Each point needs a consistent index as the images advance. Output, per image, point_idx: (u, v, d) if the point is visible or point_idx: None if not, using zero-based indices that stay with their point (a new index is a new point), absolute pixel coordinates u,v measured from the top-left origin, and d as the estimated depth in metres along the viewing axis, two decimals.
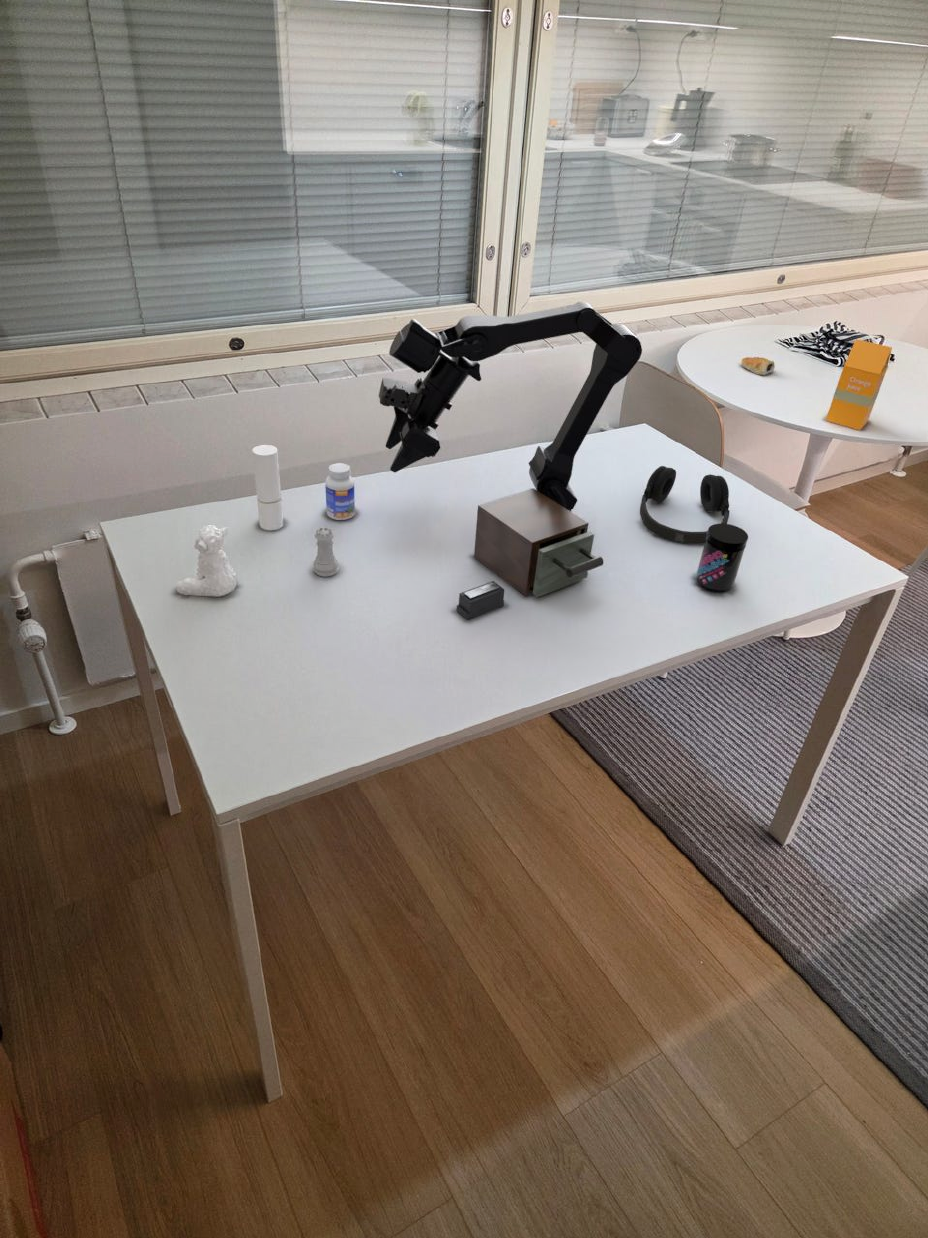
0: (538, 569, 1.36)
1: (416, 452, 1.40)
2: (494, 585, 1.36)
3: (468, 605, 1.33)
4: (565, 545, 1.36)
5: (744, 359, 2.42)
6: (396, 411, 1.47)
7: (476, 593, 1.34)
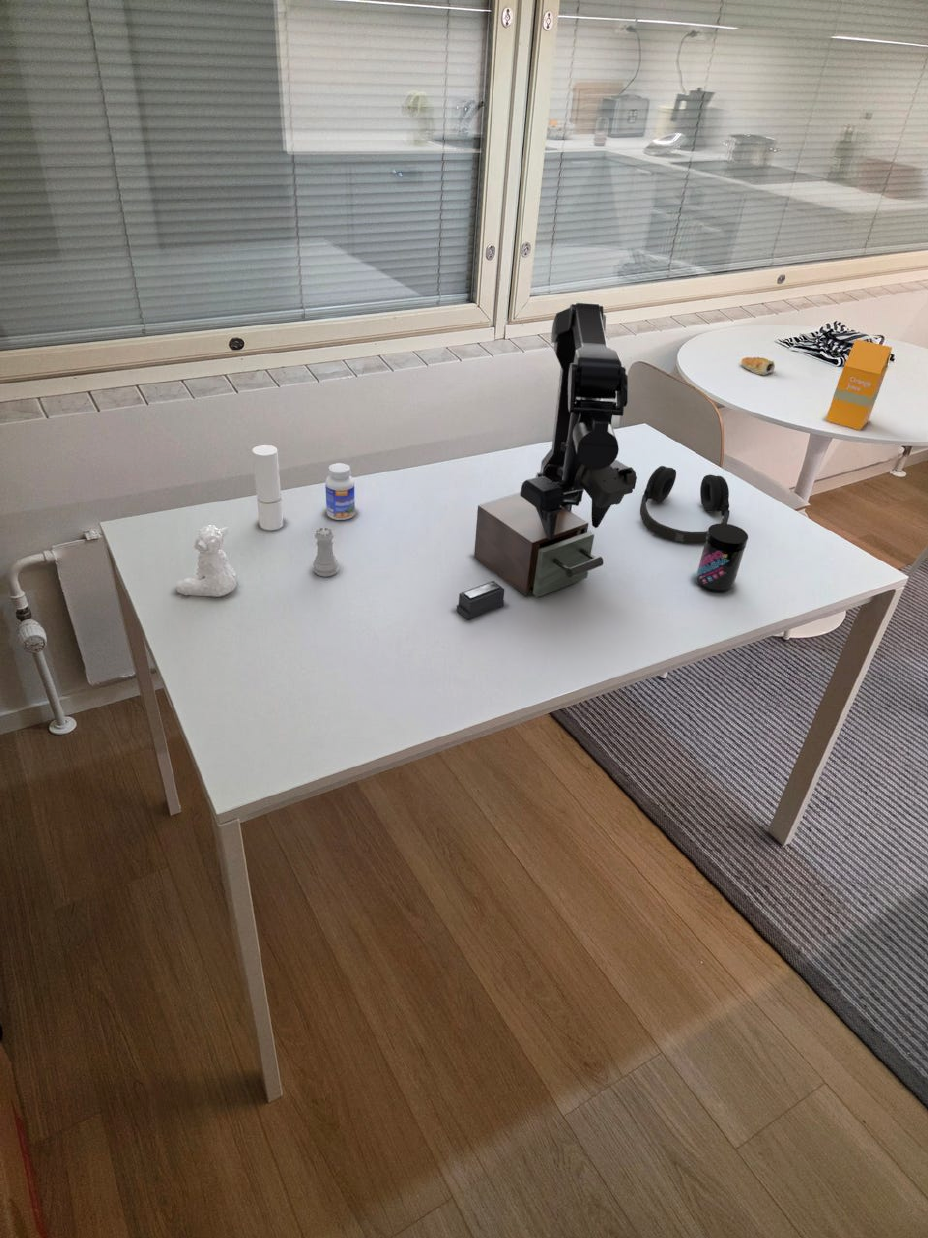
0: (538, 569, 1.36)
1: None
2: (494, 585, 1.36)
3: (468, 605, 1.33)
4: (565, 545, 1.36)
5: (744, 359, 2.42)
6: None
7: (476, 593, 1.34)
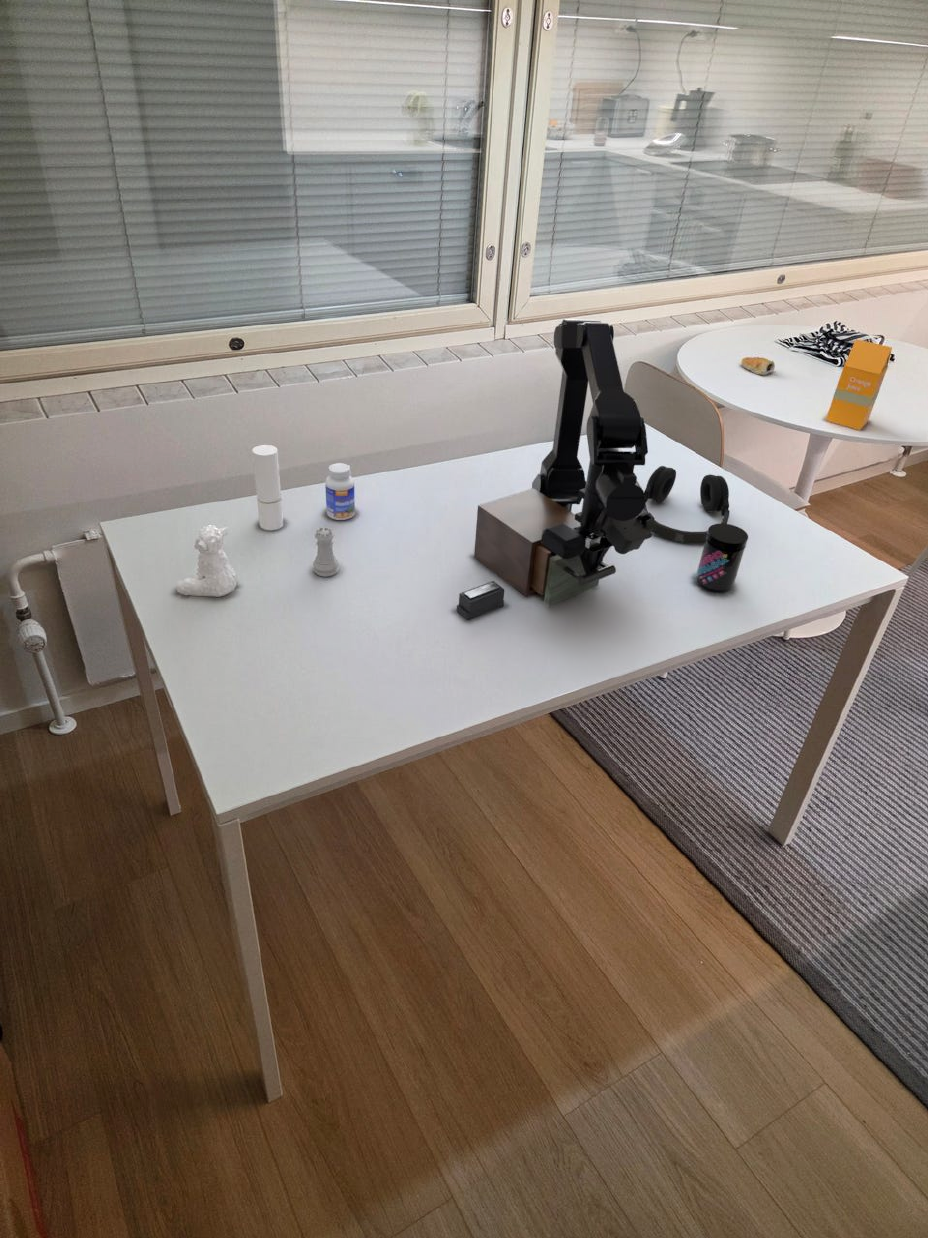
0: (550, 577, 1.35)
1: None
2: (494, 585, 1.36)
3: (468, 605, 1.33)
4: None
5: (744, 359, 2.42)
6: None
7: (476, 593, 1.34)
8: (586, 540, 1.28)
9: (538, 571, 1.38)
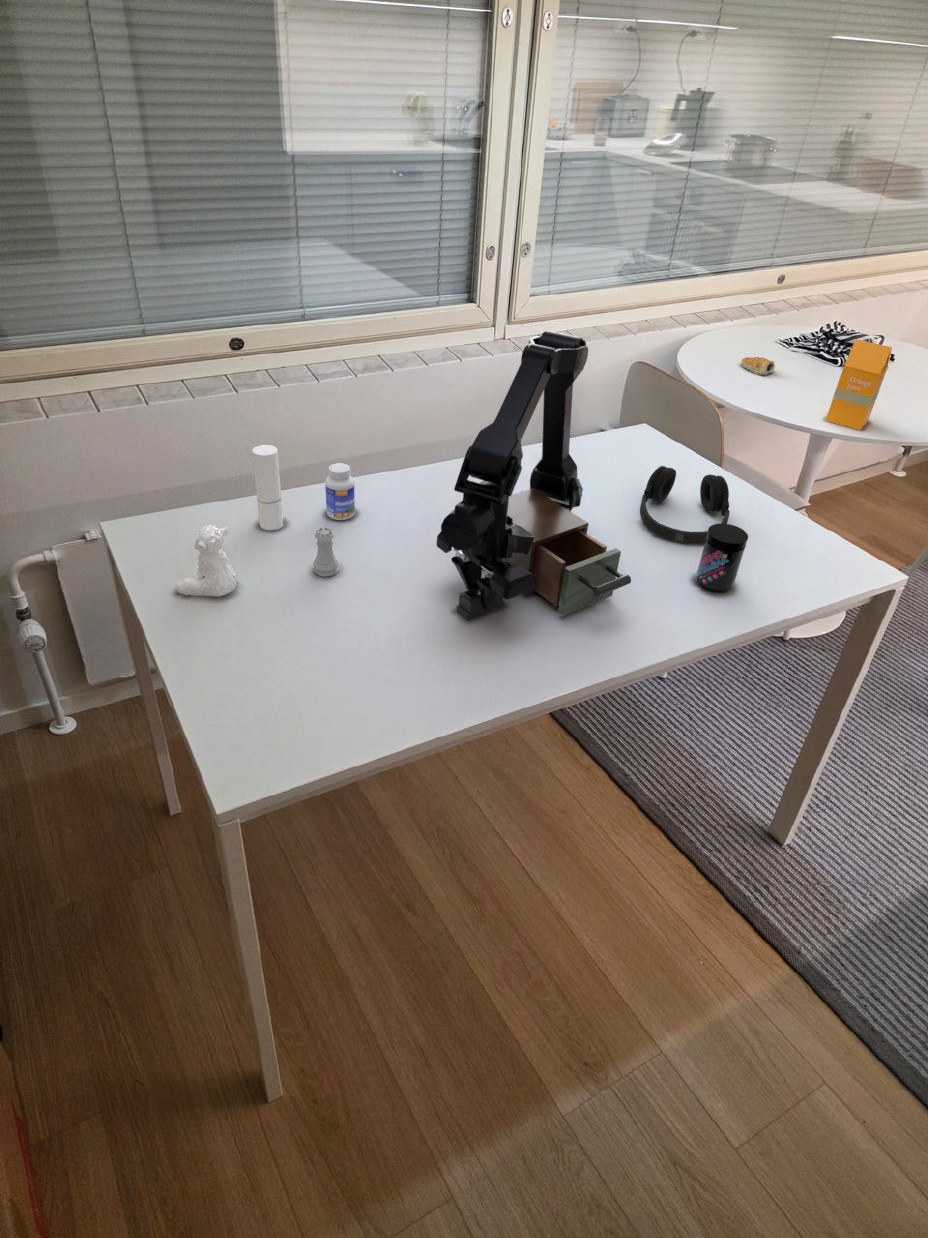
0: (564, 588, 1.32)
1: None
2: None
3: (468, 605, 1.33)
4: (592, 562, 1.32)
5: (744, 359, 2.42)
6: None
7: (476, 593, 1.34)
8: None
9: (552, 581, 1.36)
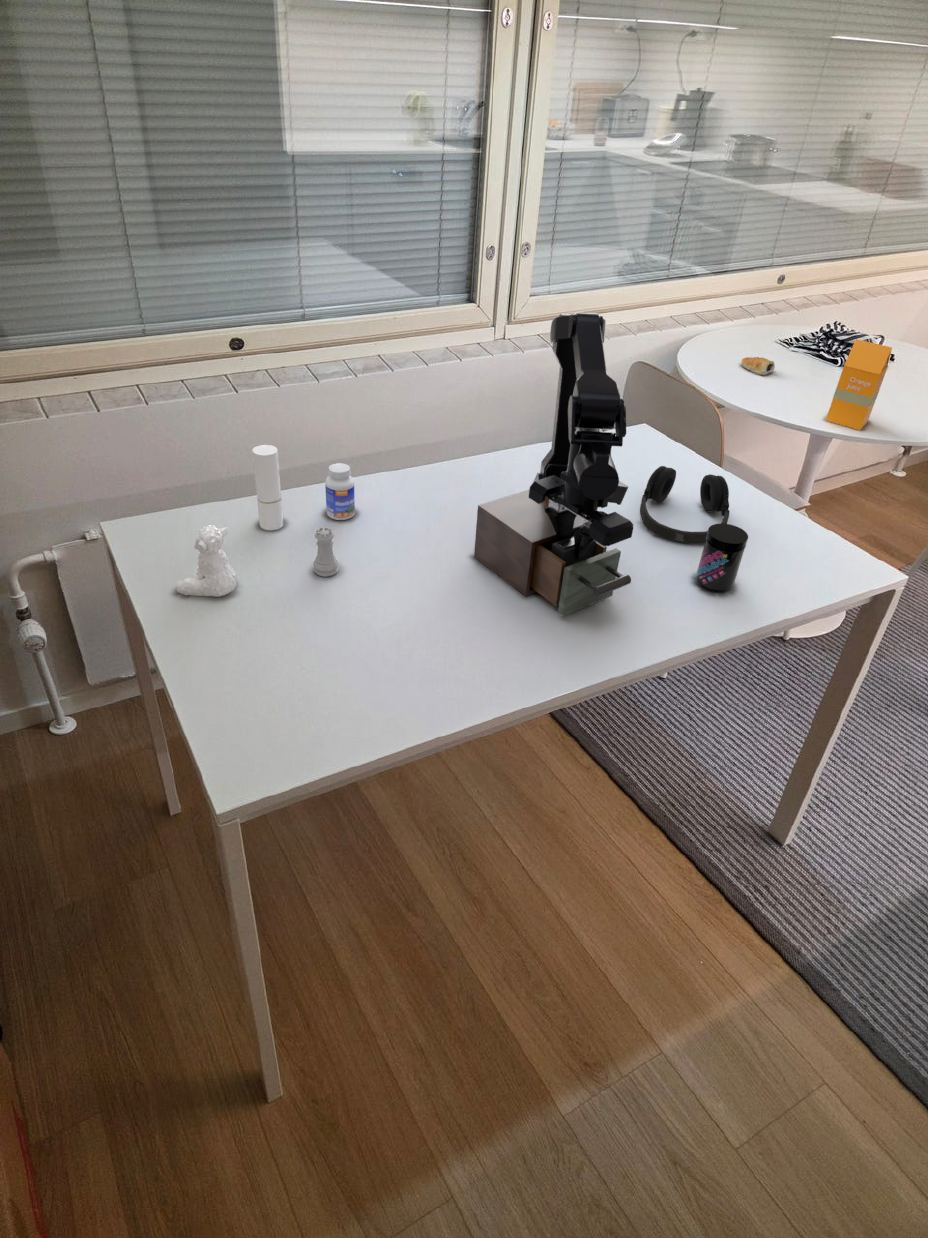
0: (564, 588, 1.32)
1: None
2: None
3: (562, 555, 1.34)
4: (592, 562, 1.32)
5: (744, 359, 2.42)
6: None
7: (569, 543, 1.35)
8: None
9: (552, 581, 1.36)
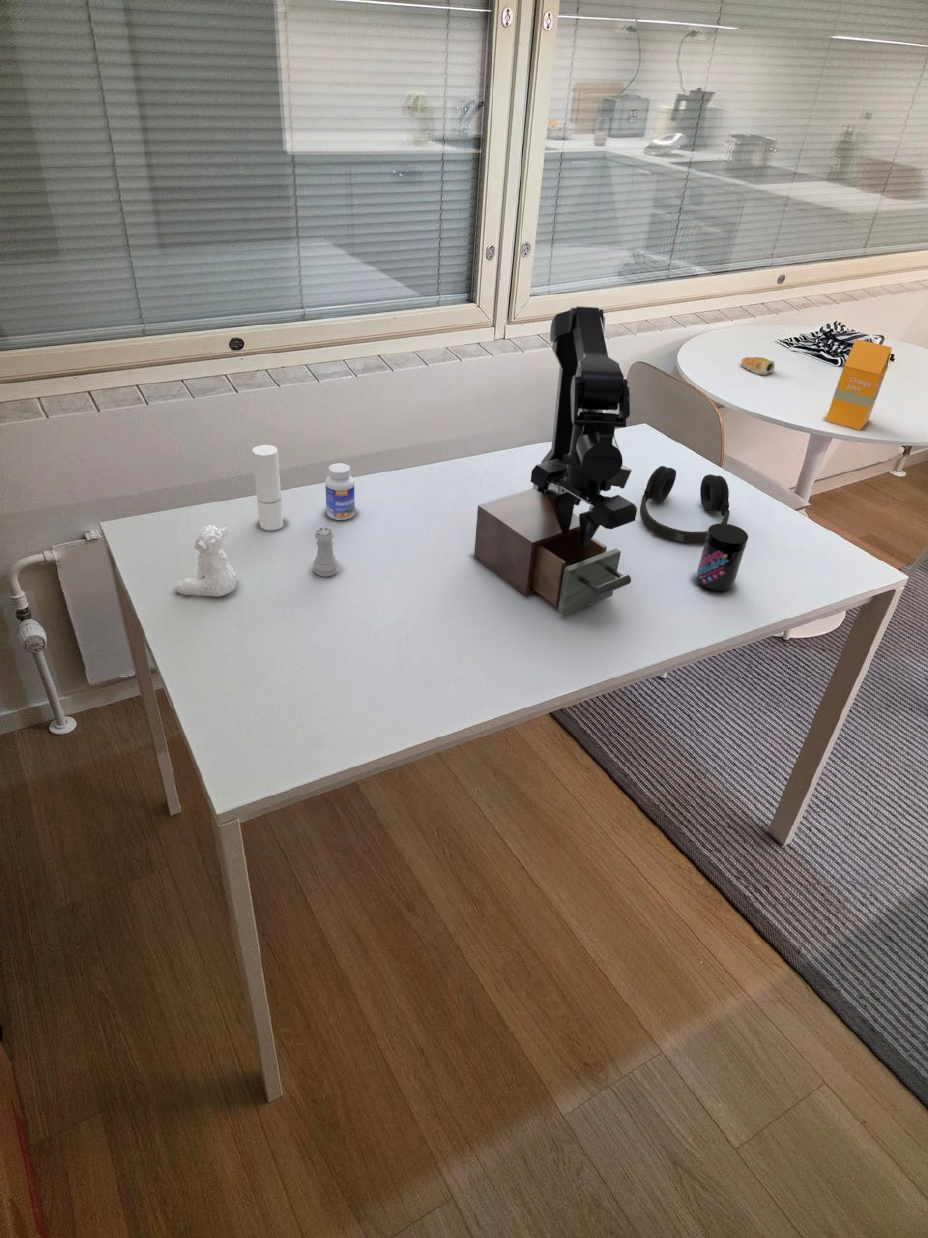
0: (564, 588, 1.32)
1: None
2: None
3: None
4: (592, 562, 1.32)
5: (744, 359, 2.42)
6: None
7: None
8: None
9: (552, 581, 1.36)
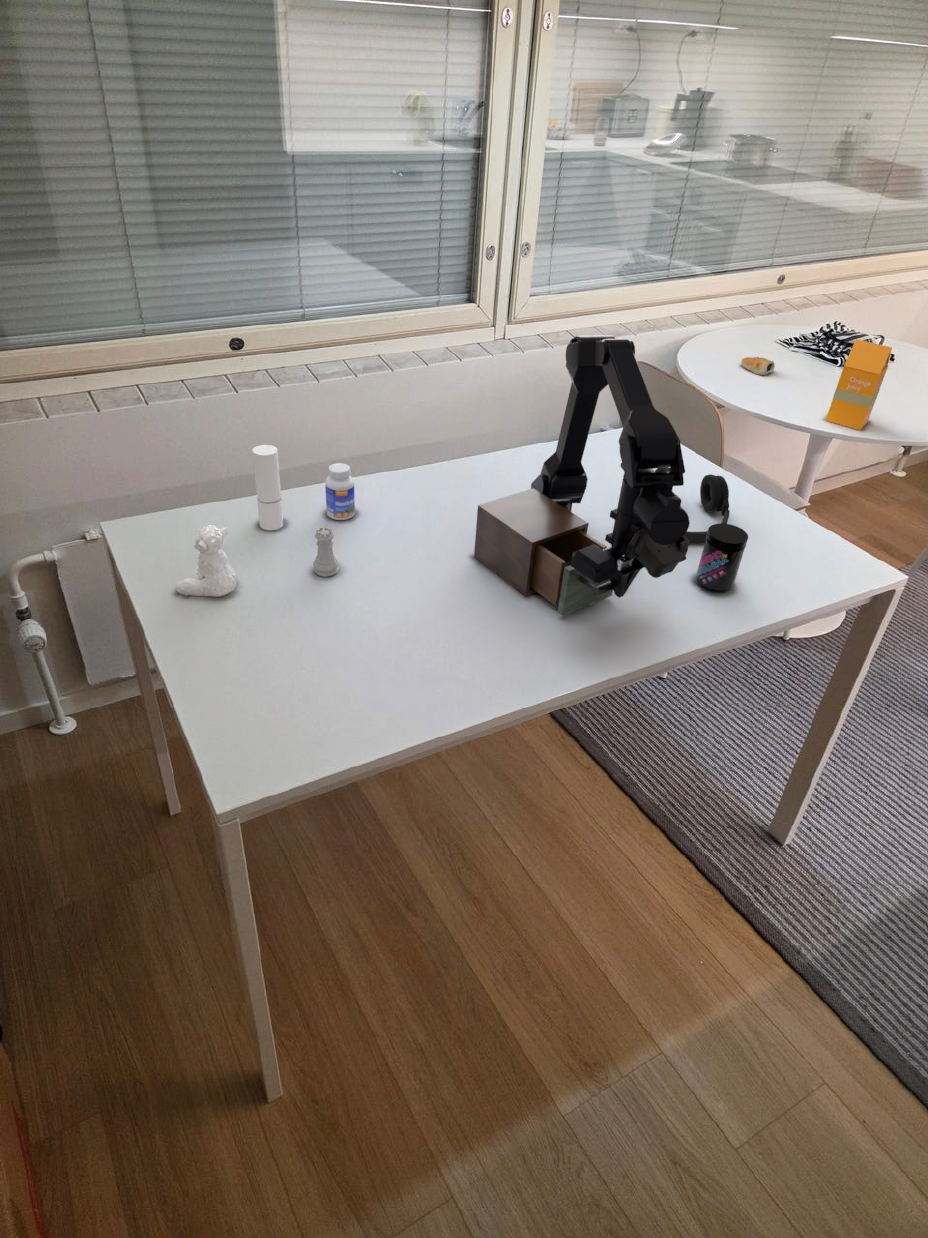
0: (564, 587, 1.32)
1: None
2: None
3: None
4: None
5: (744, 359, 2.42)
6: None
7: None
8: (618, 562, 1.24)
9: (552, 581, 1.36)
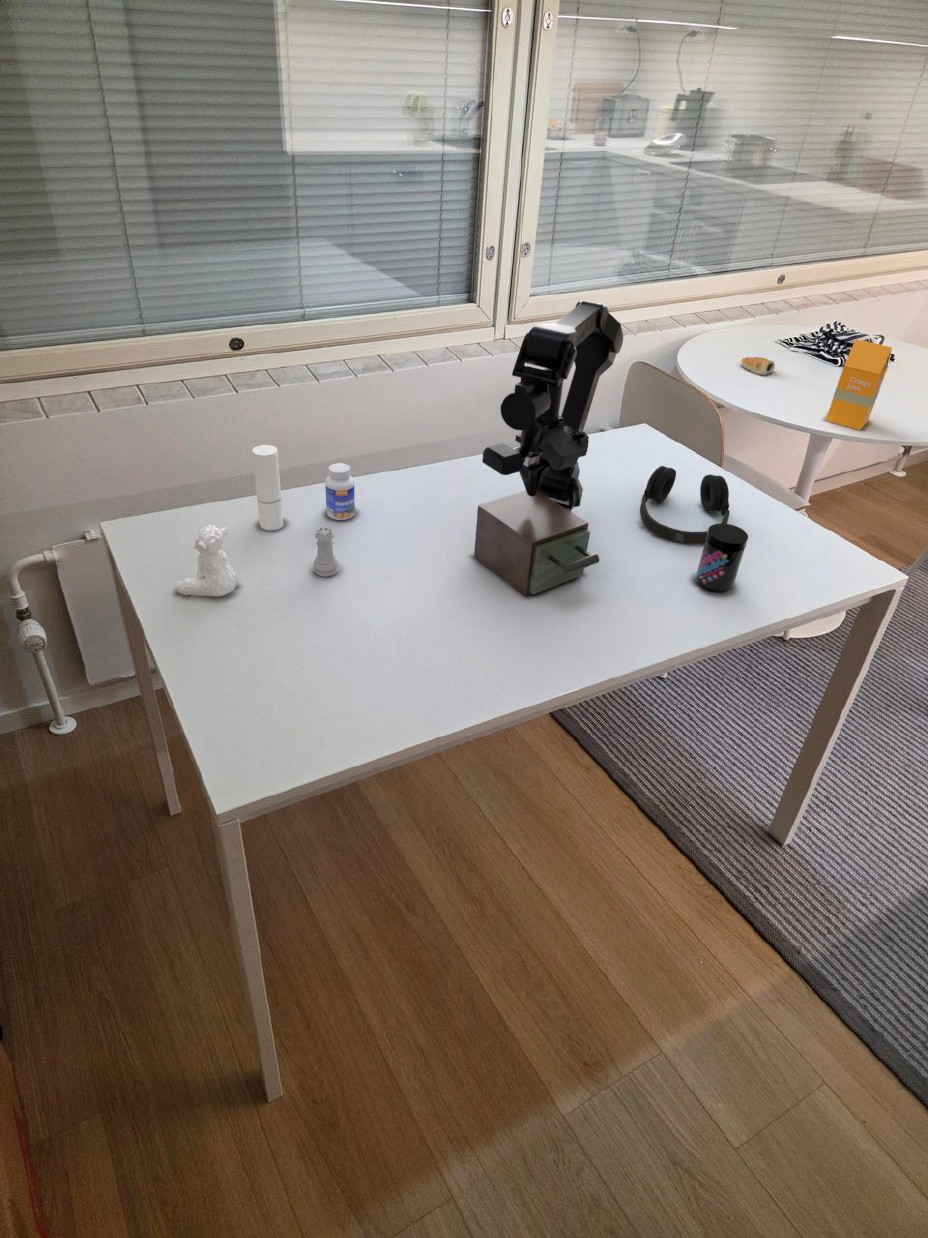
0: (534, 566, 1.37)
1: None
2: None
3: None
4: (561, 542, 1.37)
5: (744, 359, 2.42)
6: None
7: None
8: (525, 459, 1.35)
9: None
